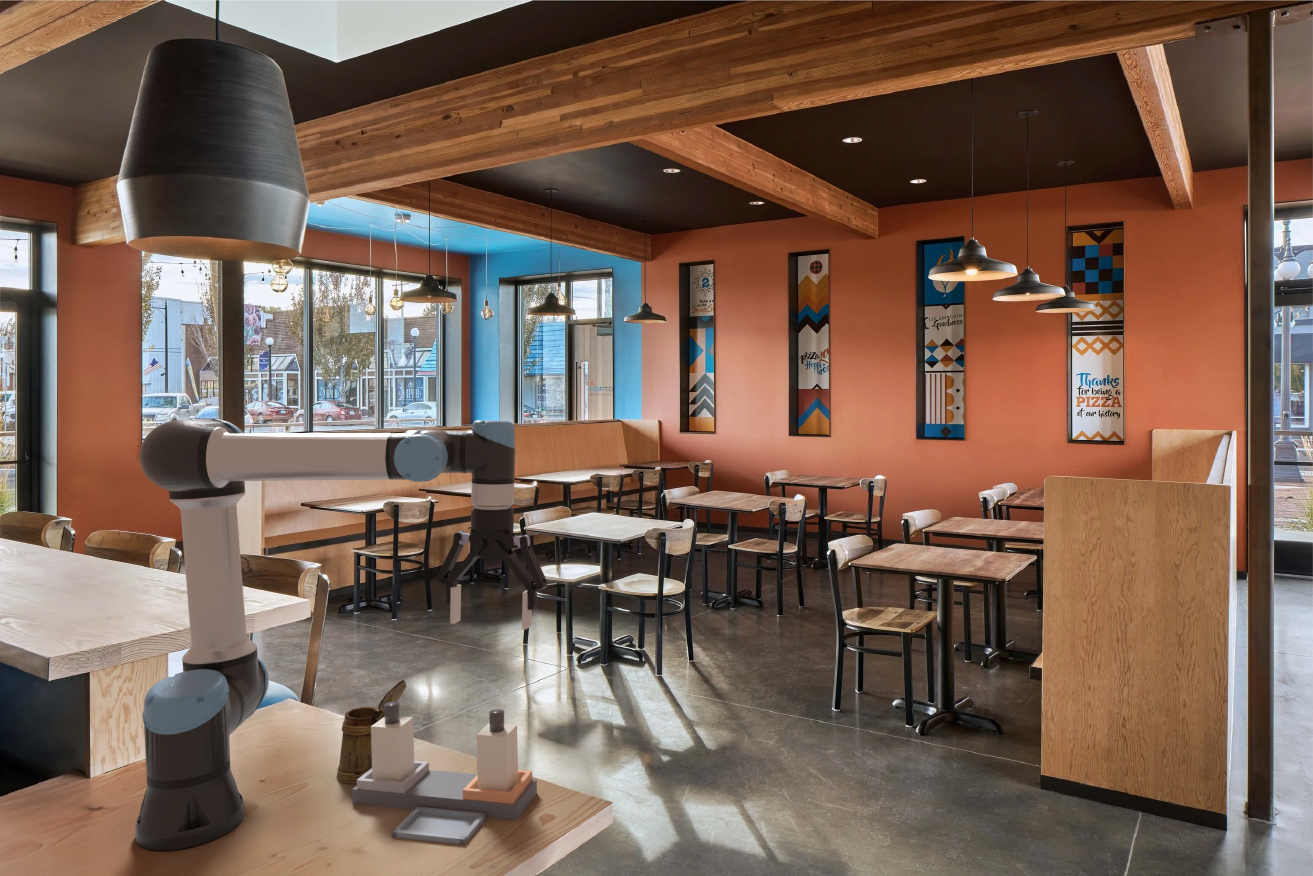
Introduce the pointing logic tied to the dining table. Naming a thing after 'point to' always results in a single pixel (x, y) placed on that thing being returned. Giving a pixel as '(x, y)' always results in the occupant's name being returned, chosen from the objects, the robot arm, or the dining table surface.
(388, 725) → the twin plug
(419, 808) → the tray
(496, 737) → the bottle
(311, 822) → the dining table surface
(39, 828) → the dining table surface
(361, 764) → the wooden mug
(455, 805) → the grey base
